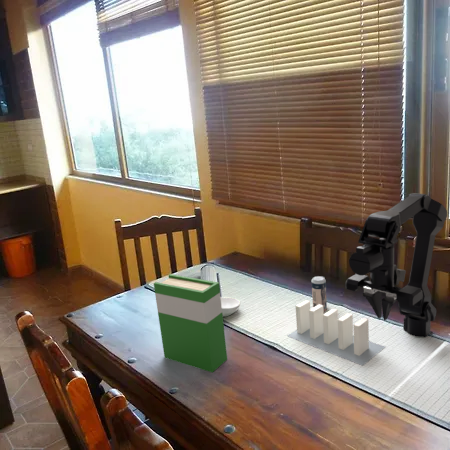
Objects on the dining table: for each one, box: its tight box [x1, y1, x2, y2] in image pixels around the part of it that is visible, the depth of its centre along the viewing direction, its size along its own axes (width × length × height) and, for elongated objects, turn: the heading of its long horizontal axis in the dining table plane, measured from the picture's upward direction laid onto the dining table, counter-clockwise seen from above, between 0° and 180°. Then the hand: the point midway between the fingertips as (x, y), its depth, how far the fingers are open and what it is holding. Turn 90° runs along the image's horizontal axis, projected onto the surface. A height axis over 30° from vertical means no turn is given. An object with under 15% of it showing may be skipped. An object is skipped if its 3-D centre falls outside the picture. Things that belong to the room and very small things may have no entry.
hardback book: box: [153, 273, 228, 374], centre depth 133 cm, size 18×7×24 cm, turn 56°
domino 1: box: [295, 299, 311, 334], centre depth 143 cm, size 2×5×9 cm, turn 133°
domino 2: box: [309, 304, 325, 339], centre depth 140 cm, size 2×5×9 cm, turn 133°
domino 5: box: [353, 317, 370, 356], centre depth 129 cm, size 2×5×9 cm, turn 134°
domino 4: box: [338, 312, 354, 350], centre depth 132 cm, size 2×5×9 cm, turn 133°
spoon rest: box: [220, 296, 241, 318], centre depth 159 cm, size 24×12×7 cm, turn 134°
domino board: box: [286, 329, 386, 367], centre depth 137 cm, size 26×12×1 cm, turn 43°
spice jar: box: [310, 275, 328, 312], centre depth 156 cm, size 5×5×12 cm
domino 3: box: [323, 308, 339, 344], centre depth 136 cm, size 2×5×9 cm, turn 133°
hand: (382, 318), depth 122 cm, fingers closed
